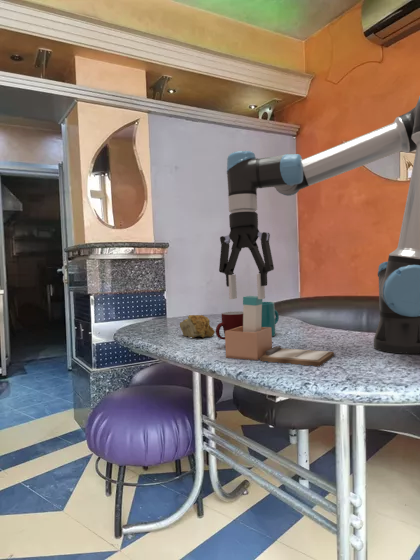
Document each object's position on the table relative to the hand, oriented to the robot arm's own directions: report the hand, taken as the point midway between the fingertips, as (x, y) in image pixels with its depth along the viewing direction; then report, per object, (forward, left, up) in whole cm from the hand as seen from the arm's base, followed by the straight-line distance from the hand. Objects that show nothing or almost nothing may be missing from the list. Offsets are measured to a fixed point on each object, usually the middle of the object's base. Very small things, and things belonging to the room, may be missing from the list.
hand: (247, 298), depth 109 cm
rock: (+31, -22, -15) cm, 41 cm away
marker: (-1, 0, -14) cm, 15 cm away
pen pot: (0, 0, -15) cm, 15 cm away
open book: (-13, -1, -15) cm, 20 cm away
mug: (+10, -9, -15) cm, 20 cm away
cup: (+9, -30, -15) cm, 35 cm away
